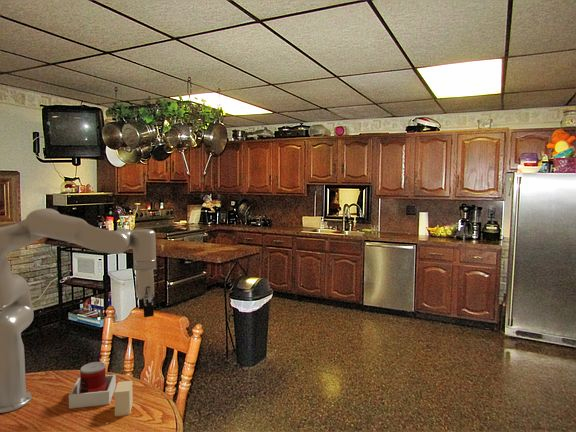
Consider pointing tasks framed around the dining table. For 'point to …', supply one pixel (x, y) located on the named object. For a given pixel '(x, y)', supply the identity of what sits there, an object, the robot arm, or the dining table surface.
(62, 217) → the robot arm
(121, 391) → the plain beige cuboid
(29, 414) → the dining table surface
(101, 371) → the canned food
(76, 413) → the dining table surface
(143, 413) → the dining table surface
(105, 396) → the box
